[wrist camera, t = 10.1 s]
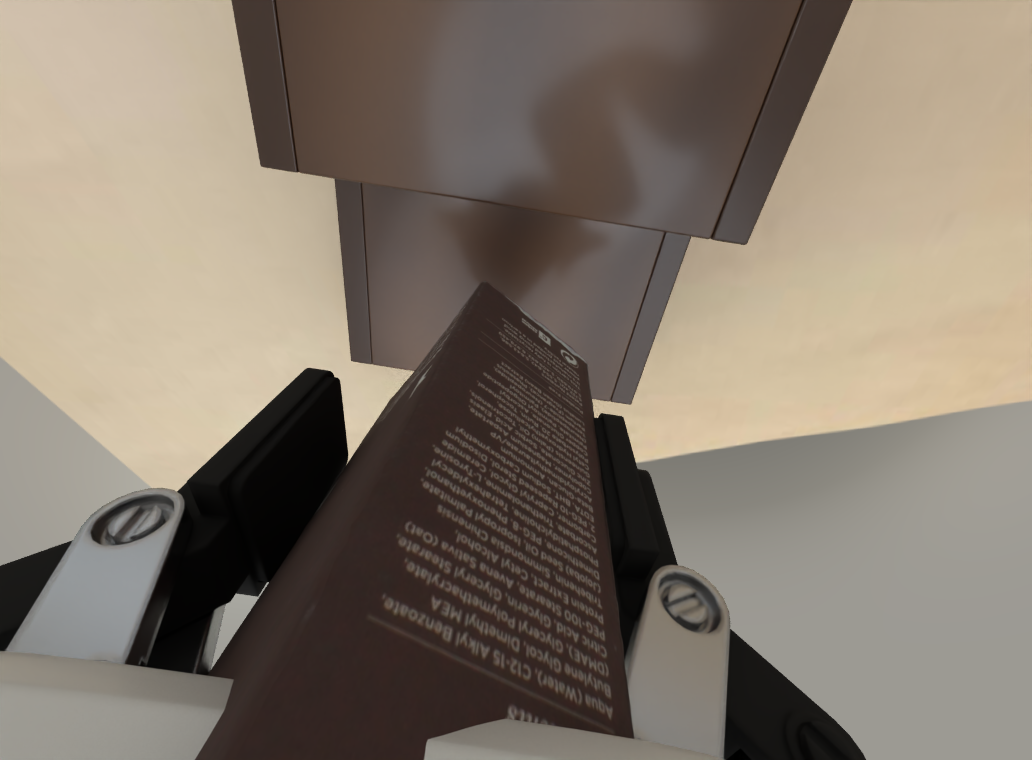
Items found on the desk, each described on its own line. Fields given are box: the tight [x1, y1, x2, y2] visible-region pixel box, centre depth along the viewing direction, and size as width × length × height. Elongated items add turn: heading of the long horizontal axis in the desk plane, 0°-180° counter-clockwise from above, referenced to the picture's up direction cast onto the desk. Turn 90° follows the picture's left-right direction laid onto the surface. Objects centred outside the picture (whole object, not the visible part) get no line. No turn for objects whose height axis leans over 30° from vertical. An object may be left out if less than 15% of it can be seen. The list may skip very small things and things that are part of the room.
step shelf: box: [232, 0, 853, 405], centre depth 18 cm, size 16×18×10 cm
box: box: [195, 281, 634, 760], centre depth 8 cm, size 6×4×12 cm
